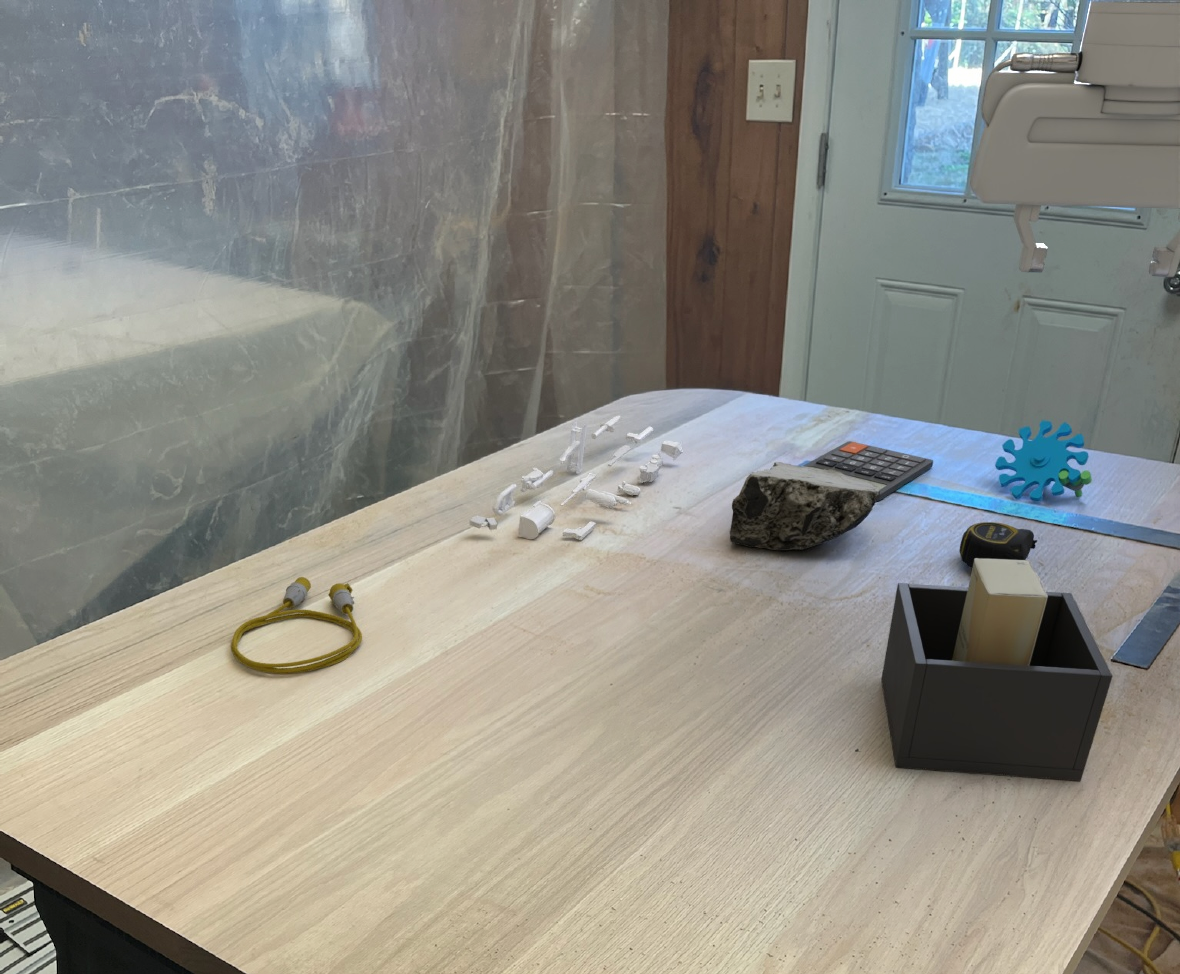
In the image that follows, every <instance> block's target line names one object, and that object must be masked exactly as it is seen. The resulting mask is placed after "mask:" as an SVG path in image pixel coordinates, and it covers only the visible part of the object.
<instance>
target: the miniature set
mask: <svg viewBox="0 0 1180 974" xmlns="http://www.w3.org/2000/svg"><path fill="white" fill-rule="evenodd" d="M621 417H622V415H615V416H613V417H612V418H611V419H609V420H608V421H607V422H605V423H600V424H599V428H598V429H596V430H595V431H594V432H593V433H592V434H591V435H590V436H591V439H593V440H596V439H597V438H598V437H599V436H601V435H602V434H603V433H604V432H610V433H614V432H615V426H614V425H615V424H616V423H618V422H619V420H620V418H621ZM587 429H588V423H587V422H585V423H584V424H583V425H582V427H579V426H578V421H577V420H575V421H574V422H573V423H571V428H570V436H569V437H570V438H569V445H568V447H567V448H566V449H565V450H564V451H563V452H562V454H561V456H560V457H559V458H558V459H559V461H560V464H561V465H562V464H564V463H565V461H566V460H567V463H566V473H567V472H571V471H572V469H576V471H575V474H576V475H578V474H581V472H582V470H583V464H584V463H583V461H584V453H585V447H586V438H587ZM653 432H654V428H653V427H652V426H647V427H646V428H645V429H644V430H643V431H641V432H640V433H633V432H630V431H629V432H628V433H627V434H626V436H625V439H626V440H627V441H632V442H633V443H634V444H638V443H641V442H642V441H643V440H644V439H646V438H647V437H648V436H649V435H651V433H653ZM577 433H580V439H579V440H576V438H577V437H576V435H577ZM631 450H633V446H631V445H627V444H624V445H622V446H621V447H620V448H618V449H617V450H615V452H614V453H613V454H612V455H611V456H612V457H614V458H612V459H611V461H609V462H608V463H607V466H608V467H612V466H613V465H614V464H616V462H617V461H619V460H620V459H621V458H623V456H625V455H626V454H627V453H628V452H630V451H631ZM577 451H578V455H577V463H575V462H573V461H574V454H575V453H577ZM661 453H663V454H665V455H666V456H669V457H671V458H672V460H673V461H676V459H677V458H678V457H680V455H681V454H683V453H684V451H683V440H681V441H679V442H678V441H673V440H664V441H662V443H661V445H660V452H657V454H652V455H651V459H650V460H648V462H646V463H645V464H644V465H640V466H639V468H638V469H639V472H640V475H639V476H638V477H637V482H638V483H641V484H644V483H652V482H653V481H655V479H657V478H658V477H659V471H660V470H661V469H662V468H663V466H664V465H665V463H664V460H663V457H662V456H661ZM586 475H587V476H585V477H583V478H581V479H579V483H578V484H577V486H576V487H575V488H574V489H573V490H572V491H571V495H570V496H568V497H567V498H566V499H565V500H564V501H562V502H561V503H560V507H563V506H565V504H566V503H568V502H569V501H570V500H571V499H573V497H575V496H577V495H578V494H579V493H580V492H581V491H586V489H587V488H588V487H590V486H591V485H592V483H591V482H593V481H594V480H595V479H596V478H597V474H595V473H592V472H587V474H586ZM552 476H554V471H553V469H549V470H548V471H547V472H545V473H543V472H542V470H540V469H538V468H537V467H532V471H531V472H529V473H528V474H527V475H522V476H521V480H520V482H521V488H520V493H521V492H522V493H526V491H528V490H533V491H534V490H536V489H540V487H543V484H544V482H546V481H547V480H548V479H550V478H551V477H552ZM643 482H644V483H643ZM516 488H517V484H516V483H512V484H510V485H509V486H507V487H506V488H505V489H503V491H501V492H500V493H498V495H497V497H496V499H495V500H494V503H493V505H492V511H493V513H494V514H495V515H496V516H500V517H501V516H502V515H504V514H506V512H508V511H509V510H510V509H512V508H513V507H514V506H515V504H516V501H515V500H513V499H514V498H513V496H514V490H516ZM641 491H642V490H641V488H640V487H638V486H637V485H633V484H631V483H628V482H627V481H626V480H623V481H622V484H619V485H617V491H616V492H617V493H620V492H621V493H624V494H627V495H629V496H633V495H639V496H640V495H641ZM585 493H586V494H585V500H586V501H589V502H591V503H594V504H597V505H599V506H602V507H606V508H608V509H612V508H614V507H615V506H617V505H618V504H621V505H624V506H627V505H629V506H631V504H632V502H631V501H630V500H629V499H627V498H625V497H622V496H619V495H616V494H614V493H610V492H608V491H605V490H602V491H598V490H594V489H591V488H589V489H587V491H586V492H585ZM555 519H556V513H555V511H554V508H552V507H551V506H550V505H549V504H547V503H544V502H542V500H537V501H536V503H534V504H533V505H532V506H531V507H530V508H529V509H528V510H525V511H524V512H523V513H522V514H521V515H520V516H519V524H518V535H517V536H518V538H524V539H527V540H535V539H536V538H537V537H538V536H539V535H540V533H542V532H543V531H544V530H545V529H546V528H547V527H549V526H551V525H552V524H553V523H554V522H555ZM596 525H597V523H596V522H594V521H589V522H588V523H586V525H585V526H581V527H580V526H579V527H577V528H576V529H573V528H568V527H566V528H564V530H563V531H562V537H566V538H575V539H576V540H579V541H582V540H583V539H584V538H585V537H586V536H587V535H588V534H589V533H591V532H592V531H593V530H594V529H595V528H596ZM469 526H471V527H474V528H475V529H476V528H477V529H481V528H488V529H489V530H490V531H492V530H497V529H498V523H497V521H496V520H495V517H484V516H480V515H478V514H475V515H474V516H473V517H471V518H470V519H469Z"/></svg>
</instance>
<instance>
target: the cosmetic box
mask: <svg viewBox="0 0 1180 974" xmlns="http://www.w3.org/2000/svg"><path fill="white" fill-rule="evenodd" d="M967 587H968V591H967V596H966V600H965V604H964V609H963V613H962V618H961V622H960V627H959V631H958V635H957V640H956V645H955V649H954V654H953V658H952V661H963V662H979V663H994V664H1010V665H1025V666H1029V665H1030V661H1031V657H1032V654H1033V650H1034V646H1035V642H1036V639H1037V635H1038V631H1039V627H1040V624H1041V620H1042V616H1043V613H1044V609H1045V605H1046V602H1047V598H1048V595H1047V593H1046V592H1047V591H1046V590H1045V587H1044V586H1043V583H1042V581H1041V579H1040V576H1039V575H1038V573H1037V572H1036V570H1035V567H1034V566H1033V563H1032V561H1031V560H1029V559H1026V560H1007V559H982V558H981V559H980V558H975V559H974V563H973V568H971V573H970V578H969V582H968V586H967Z"/></svg>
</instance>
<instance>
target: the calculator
mask: <svg viewBox="0 0 1180 974" xmlns="http://www.w3.org/2000/svg"><path fill="white" fill-rule="evenodd" d="M802 466H804V467H810V468H816V469H819V470H823V469H831V470H836V471H840V472H842V473H843V474H844V475H847V476H850V477H853V478H858V479H862V480H865V481H870V482H871V483H873V484H874V485H876V486H877V487H879V488H880V493H879V497H878V499H877V501H881V500H882V499H884V498H886V497H888V496H889V495H891V494H892V493H894V492H896V491H897V490H898V489H900V488H901V487H904V486H905V485H906V484H908V483H910V482H911V481H913V480H914V479H916V478H918V477H919V476H921V475H922V474H924V473H925V472H927V471H928V470H930V469H932V468H933V466H934V460H933V459H932V458H926V457H922V456H917V455H912V454H909V453H905V452H899V451H895V450H891V449H886V448H882V447H877V446H874V445H868V444H865V443H860V442H856V441H846V442H844V443H842V444H840V445H839V446H837V447H834V448H833V449H831V450H830V451H828V452H826V453H823V454H822V455H820V456H818V457H816V458H815V459H813V460H811V461H809V462H807V463H805V464H803V465H802ZM904 484H905V485H904ZM877 501H876V502H877Z"/></svg>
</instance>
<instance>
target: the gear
mask: <svg viewBox="0 0 1180 974" xmlns="http://www.w3.org/2000/svg"><path fill="white" fill-rule="evenodd" d="M1052 430H1053V423H1052V422H1051V421H1049V420H1041V421H1040V422H1039V430H1038V433H1037V434H1036V436H1035V437H1034V439H1032V440H1030V439H1029V438H1030V437H1031V436H1032V430H1031V427H1030V426H1028V425H1027V426H1023V427H1021V428H1019V429H1018V435H1019V438H1020V439H1021V440H1022V446H1021V448H1019V449H1015V448H1016V445H1015V441H1014V440H1013V439H1011V438H1009V439H1007V440H1006V441H1005V442H1003V443H1002V444H1001V446H1002V450H1003V452H1005V453H1007V454H1010V455H1012V456H1013V457H1014V460H1013V461H1012V462H1008V460H1007V459H1006V457H1004V456H998V457H997V459H996V461H995V464H994V466H995V469H996V470H997V471H1002V470H1010V471H1013V472H1015V473H1014V474H1012V475H1010V474H1007V473H1001V474H999V475H998V481H999V484H1000V487H1001V488H1006V487H1007V486H1009V485H1010V484H1012V483H1015V482H1024V483H1022V484H1020V485H1013V486H1012V487H1011V488H1010V489H1009V490H1010V493H1011V495H1012V497H1013V498H1014V499H1016V500H1019V499H1021V498H1022V497H1023V495H1024V493H1025V492H1026V491H1027V490H1028V489H1030V488H1031V487H1033V486H1036V485H1037V487H1036V488H1035V489H1032V490H1031V491H1030V493H1029V498H1030V500H1031V501H1033V502H1037V503H1038V502H1040V503H1041V501H1042V500H1043V498H1044V496H1043V495H1044V494H1043V492H1044V490H1045V488H1046V486H1047V487H1048V486H1050V485H1051V484H1052V482H1054V483H1053V485H1052V486H1051V488H1050V492H1051V495H1052V496H1053V497H1058V496H1061V495H1064V494H1065V489H1066V488H1067V489H1069V490H1071V491H1073V492H1074V495H1075V497H1076V498H1081V497H1082V496H1083V490H1082V489H1083V488H1084V486H1085V485H1090V484H1091V483H1092V480H1093V479H1092V474H1091V471H1089V470H1083V471H1082V472H1081V471H1080V470H1079V469H1076V468H1073V467H1071V466H1070V464H1069V463H1068V462H1069V461H1070V460H1075V461H1076V463H1077V465H1079V466H1085V465H1086V464H1087V462H1088V460H1089V457H1090V456H1089V452H1088V451H1085V450H1082V451H1071V450H1069V449H1068V448H1069V447H1074V448H1077V449H1081V448H1083V447H1085V440H1084V436H1083V433H1078V434H1075V435H1074V436H1073V437H1071V438H1069V439H1063V440H1059V438H1061V437H1069V436H1070V435H1071V434H1072V433H1073V430H1072V426H1071V425H1070V424H1069V423H1067V422H1066V421H1065V422H1063V423H1061V424H1060V426H1059V427H1058V429H1057V430H1056V431H1055V432H1054V433H1052V434H1050V435H1048V436H1045V435H1047V434H1048V433H1050V432H1051V431H1052ZM1064 487H1065V488H1064Z"/></svg>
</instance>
